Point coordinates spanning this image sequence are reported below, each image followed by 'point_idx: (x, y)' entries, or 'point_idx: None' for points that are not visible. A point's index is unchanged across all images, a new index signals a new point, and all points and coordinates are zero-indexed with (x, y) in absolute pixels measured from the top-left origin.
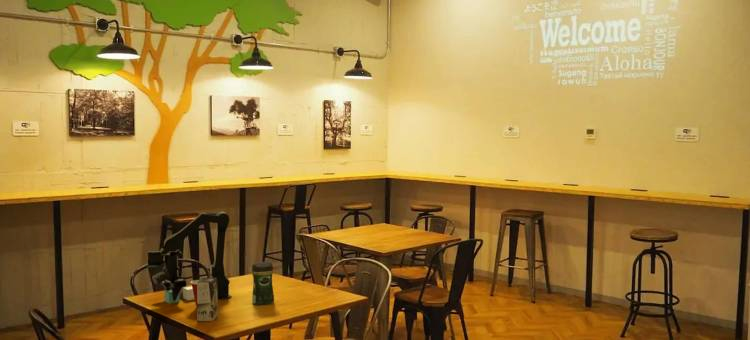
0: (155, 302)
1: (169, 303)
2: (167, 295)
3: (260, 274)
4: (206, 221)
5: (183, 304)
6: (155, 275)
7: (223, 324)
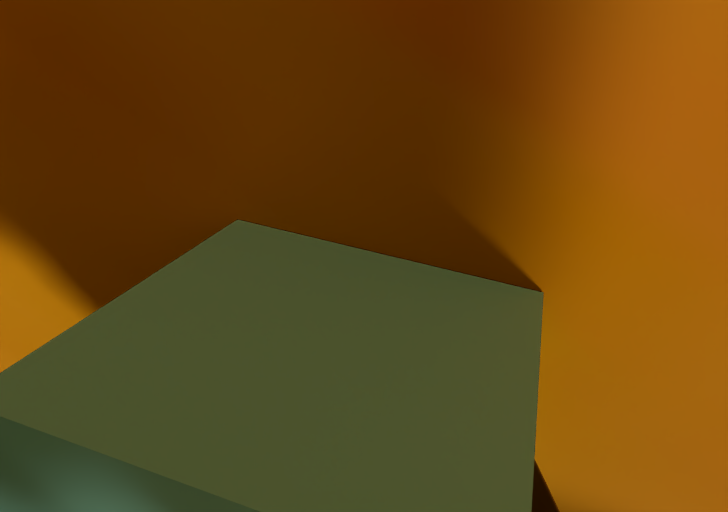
0: (719, 25)
1: (237, 231)
2: (207, 352)
3: None
4: None
5: (14, 346)
6: None
7: None
